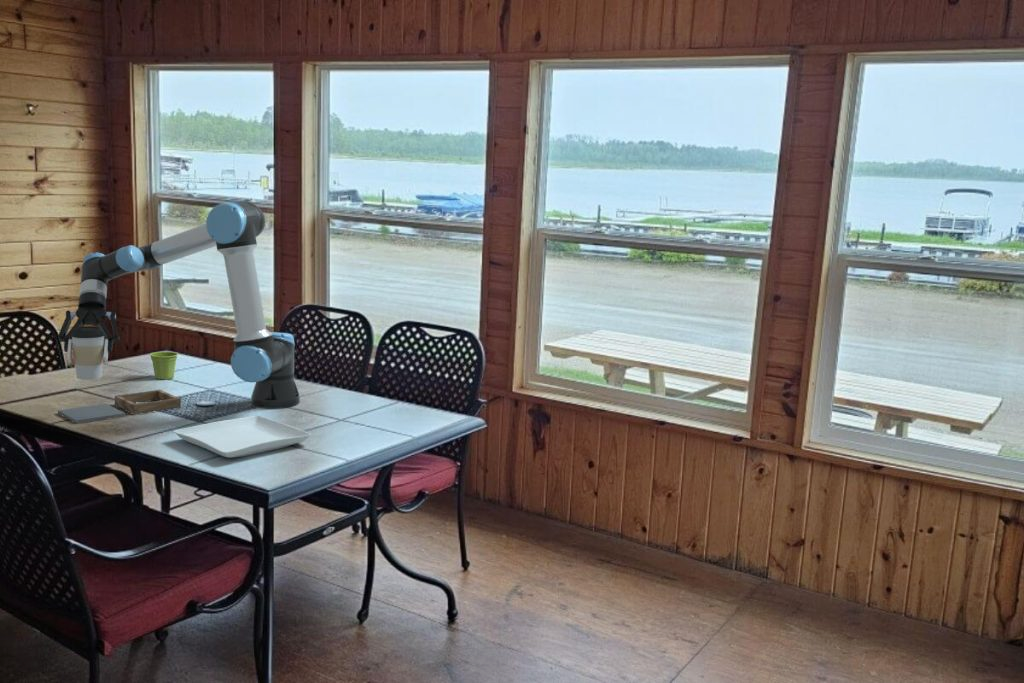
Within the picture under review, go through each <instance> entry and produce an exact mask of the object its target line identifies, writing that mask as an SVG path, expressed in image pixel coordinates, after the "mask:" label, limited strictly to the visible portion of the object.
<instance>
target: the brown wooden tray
mask: <svg viewBox="0 0 1024 683" xmlns="http://www.w3.org/2000/svg"><path fill="white" fill-rule="evenodd" d="M156 399H158V400H156ZM149 400H155V401H149ZM159 400H161V401H159ZM143 401H148V402H143ZM136 402H141V403H136ZM115 405H117V406H119V407H121V408H123V409H125V410H127V411H129V412H131V413H133V414H139V415H141V414H140V413H145V414H149V413H148V412H152V413H154V412H153V411H158V412H162V411H161V410H165V411H168V410H167V409H171V410H175V409H174V408H178V409H181V408H182V407H181V406H182V405H181V398H180V397H178V396H175V395H173V394H170V393H169V392H166V391H164V390H162V389H155V390H148V391H140V392H135V393H134V392H133V393H127V394H126V393H125V394H118V395H114V406H115ZM117 406H116V407H117ZM119 407H118V408H119ZM121 408H120V409H121ZM123 409H122V410H123ZM125 410H124V411H125ZM127 411H126V412H127ZM129 412H128V413H129ZM131 413H130V414H131ZM133 414H132V415H133Z"/></svg>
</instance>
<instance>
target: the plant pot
mask: <svg viewBox="0 0 1024 683" xmlns="http://www.w3.org/2000/svg"><path fill="white" fill-rule="evenodd" d="M149 356H150V360H151V362H152V366H153V367H152V368H153V371H154V378H155V379H157V378H158V380H160V379H164V380H165V379H167V380H169V379H171V378H172V379H174V378H175V377H174V376H175V370H176V363H177V358H178V356H179V353H178V352H176V351H175V352H174V351H156V352H151V353H149Z"/></svg>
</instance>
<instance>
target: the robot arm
mask: <svg viewBox="0 0 1024 683" xmlns="http://www.w3.org/2000/svg"><path fill="white" fill-rule="evenodd" d="M205 220H206V221H205V223H204V224H201V225H199V226H195V227H193V228H190V229H187V230H185V231H182V232H179V233H176V234H174V235H171V236H168V237H166V238H163V239H159V240H157V241H154V242H152V243H148V244H146V245H143V246H139V247H137V246H135V245H131V244H130V245H126V246H122V247H121V248H119V249H117V250H115V251H112V252H110V253H108V254H104V253H100V252H95V253H94V252H90V253H88V254H86V255H85V256H84V257H83V259H82V265H81V274H80V277H81V278H80V285H79V293H78V295H79V296H78V303H77V309H76V311H70V309H69V310H66V311H65V319H64V321H63V323H62V325H61V327H60V330H59V332H58V335H57V337H58V341H59V342H60V343H63V348H64V352H65V353H66V360H67V363H68V364H71V363H72V359H73V358H72V354H73V347H72V344H73V342H72V337H71V335H72V332H73V331H75V329H76V328H78V327H85V326H89V325H93V326H97V327H99V328H100V329H101V330H102V331H103V332H104V334H105V336H104V359H103V363H108V359H109V352H113V345H114V344H113V343H115V342H117V343H118V342H120V334H119V330H118V326H117V321H116V320H117V314H116V313H117V312H116V310H111V311H107V310H106V308H107V306H106V305H107V294H108V292H107V291H108V282H109V281H111V280H114V279H116V278H118V277H121V276H124V275H127V274H132V273H137V272H142V271H143V272H144V271H151V270H155V269H157V268H159V267H161V266H163V265H166V264H168V263H170V262H173V261H176V260H179V259H183V258H185V257H189V256H191V255H194V254H196V253H201V252H202V251H206V250H208V249H212V248H214V247H216V250H217V252H219V253H220V254H221V255H223V259H224V265H225V270H226V271H225V272H226V277H227V281H228V288H229V294H230V298H231V304H232V310H233V317H234V323H235V327H236V335H235V337H234V338H233V340H232V342H233V348H234V350H233V352H232V355H231V357H230V366H231V370H232V371H233V374H235V376H236V377H237V378H239V379H240V380H242V381H245V383H246V382H247V383H255V384H254V387H253V389H252V392H251V393H252V394H251V397H250V398H251V399H250V402H251V405H253V406H254V407H257V408H258V407H259V408H265V409H282V408H283V409H285V408H290V407H295V406H297V405H299V404H300V398H301V397H300V393H299V390H298V387H297V384H296V380H295V346H296V344H295V339H294V338H295V336H294V335H293V334H292V333H286V332H275V331H273V332H272V331H269V330H268V329H267V327H266V326H267V325H266V320H265V314H264V310H263V309H264V308H263V303H262V297H261V291H260V285H259V281H258V280H259V279H258V272H257V268H256V263H255V262H256V261H255V255H254V250H255V249H256V247H257V246H258V243H257V237H259V236H260V235H261V233H262V232H263V231H264V229H265V224H266V218H265V215H264V212H263V211H262V209H261V208H260V207H259V206H258V205H256V204H254V203H252V202H249V201H241V202H240V201H229V202H223V203H220V204H219V203H218V204H217V205H215V206H214V207H213V208H212V209H211V210H210V211H209V212H208V215H207V217H206V219H205ZM75 317H77V320H76V322H75V323H74V325H73V326H72V327H71V324H72V322H73V320H74V318H75ZM105 318H108V319H109V321H110V323H111V327H112V331H113V335H112V334H111V332H110V331H109V329H108V327H107V325H106V323H105V322H104V319H105ZM70 327H71V328H70ZM69 329H70V330H69Z"/></svg>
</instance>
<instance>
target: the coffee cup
mask: <svg viewBox="0 0 1024 683" xmlns="http://www.w3.org/2000/svg"><path fill="white" fill-rule="evenodd" d="M71 337H72V343H73V344H72V347H73V348H72V354H73V360H74V365H75V366H74V367H75V372H76V373H75V374H76V378H77V379H79V380H90V381H91V380H99V379H101V378H102V377H103V367H104V366H103V365H104V346H105V334H104V332H103V331H102V330H101V329H100V327H99V326H89V325H87V326H84V327H78V328H76V329H75V331H73V332H72V335H71Z"/></svg>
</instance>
